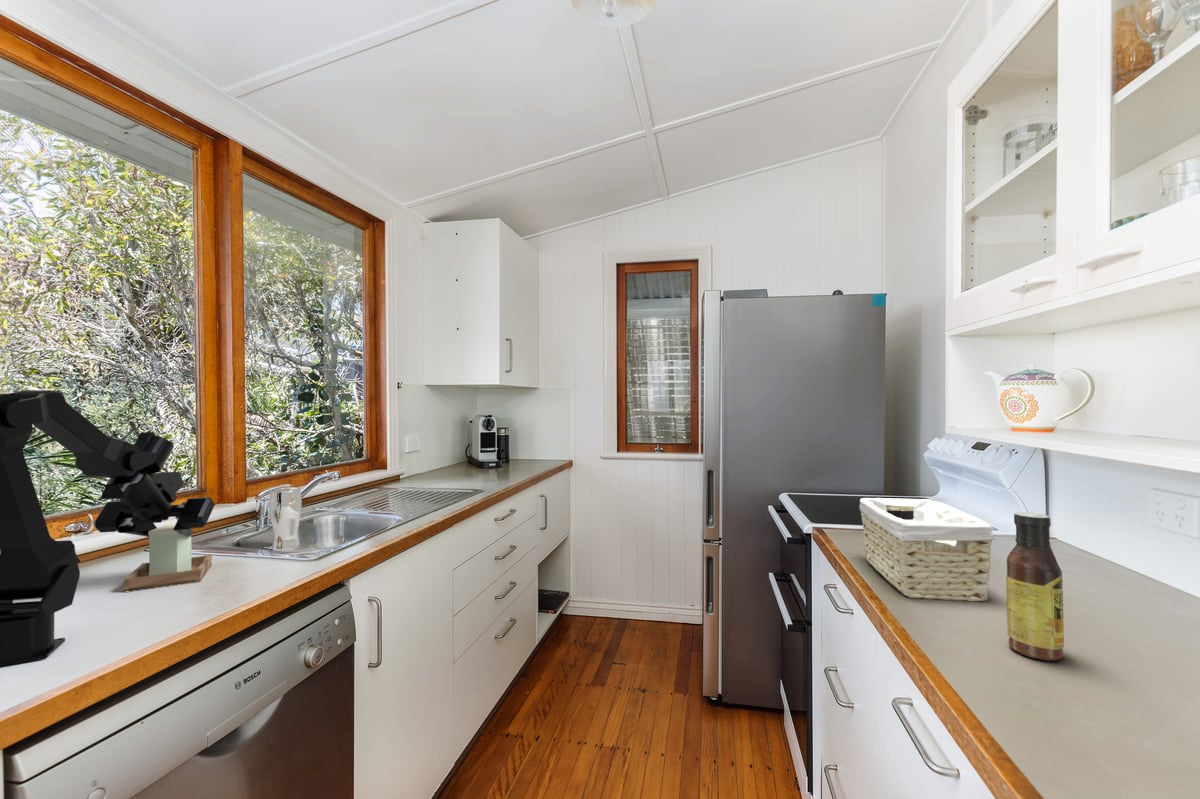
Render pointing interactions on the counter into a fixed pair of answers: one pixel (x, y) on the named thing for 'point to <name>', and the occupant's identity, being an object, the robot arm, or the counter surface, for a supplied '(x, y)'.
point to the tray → (167, 575)
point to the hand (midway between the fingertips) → (174, 535)
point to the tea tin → (168, 551)
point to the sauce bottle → (1034, 591)
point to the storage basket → (928, 548)
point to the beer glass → (285, 517)
